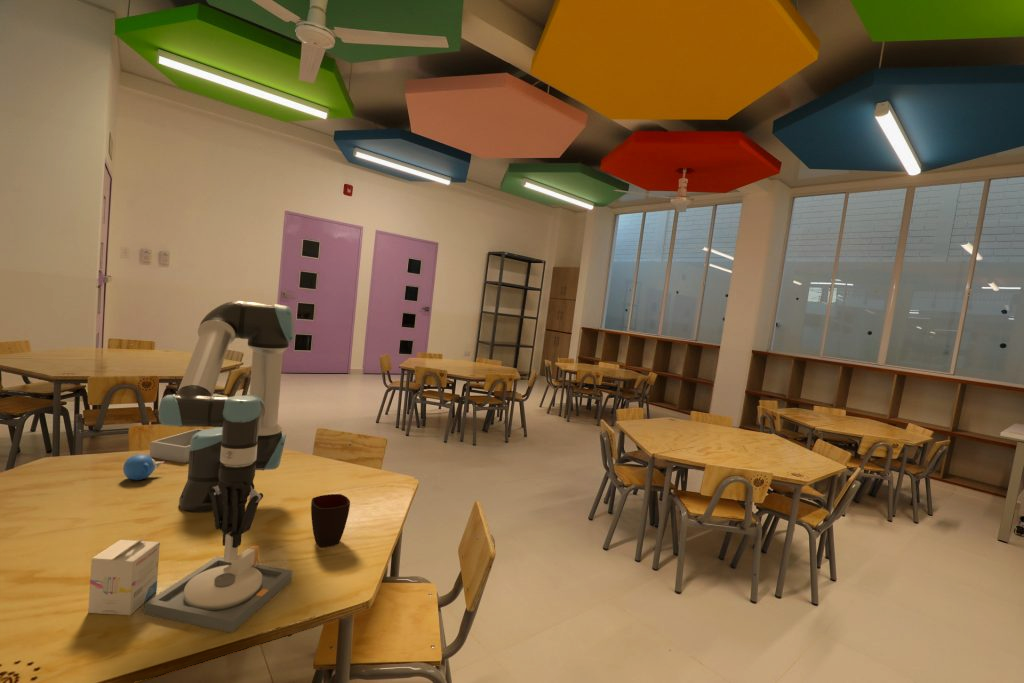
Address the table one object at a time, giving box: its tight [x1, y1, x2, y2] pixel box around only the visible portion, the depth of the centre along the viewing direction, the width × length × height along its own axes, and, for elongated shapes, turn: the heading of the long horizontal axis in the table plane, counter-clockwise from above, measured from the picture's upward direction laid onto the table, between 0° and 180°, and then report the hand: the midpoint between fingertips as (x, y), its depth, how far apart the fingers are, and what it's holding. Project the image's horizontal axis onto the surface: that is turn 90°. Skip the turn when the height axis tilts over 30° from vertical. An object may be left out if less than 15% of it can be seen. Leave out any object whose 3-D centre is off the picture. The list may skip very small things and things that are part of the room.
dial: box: [184, 545, 262, 610], centre depth 109 cm, size 18×15×5 cm
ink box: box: [87, 534, 161, 616], centre depth 102 cm, size 9×8×13 cm
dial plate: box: [143, 555, 293, 634], centre depth 108 cm, size 20×20×3 cm
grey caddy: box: [149, 428, 205, 463], centre depth 196 cm, size 15×23×6 cm, turn 172°
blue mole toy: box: [122, 453, 166, 481], centre depth 166 cm, size 12×12×8 cm
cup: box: [310, 493, 351, 548], centre depth 137 cm, size 10×14×12 cm
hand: (230, 559), depth 115 cm, fingers closed
